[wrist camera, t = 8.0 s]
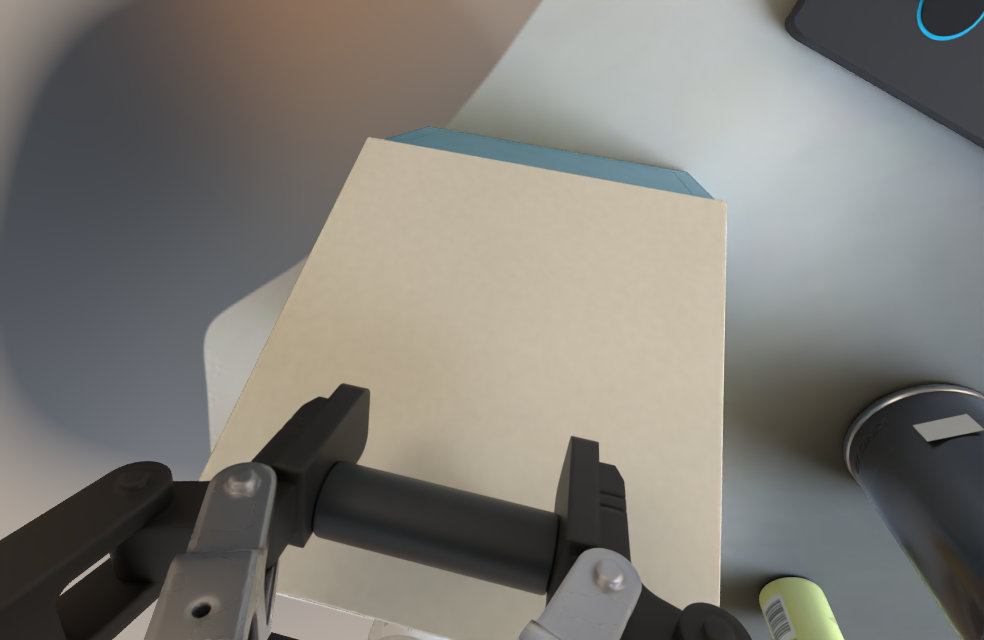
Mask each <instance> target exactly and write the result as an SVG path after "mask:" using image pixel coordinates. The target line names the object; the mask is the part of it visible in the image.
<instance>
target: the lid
mask: <svg viewBox="0 0 984 640" xmlns="http://www.w3.org/2000/svg"><path fill="white" fill-rule="evenodd" d="M726 233H727V202H724V201H719V200H713V199H708V198H702V197H697V196H691V195H686V194H680V193H675V192H669V191H664V190H658V189H653V188H647V187H642V186H636V185H631V184H625V183H620V182H614V181H609V180H603V179H598V178H592V177H587V176H581V175H576V174H570V173H565V172H559V171H554V170H548V169H543V168H537V167H532V166H526V165H521V164H515V163H510V162H504V161H499V160H493V159H488V158H482V157H477V156H471V155H466V154H460V153H455V152H449V151H444V150H438V149H433V148H427V147H421V146H416V145H410V144H405V143H399V142H394V141H388V140H383V139H377V138H372V137H368V138H367V140H366V142H365V144H364V146H363V148H362V150H361V152H360V154H359V156H358V158H357V160H356V162H355V164H354V166H353V168H352V170H351V172H350V174H349V176H348V178H347V180H346V182H345V184H344V186H343V188H342V190H341V192H340V194H339V197H338V198H337V200H336V203H335V205H334V207H333V209H332V211H331V213H330V215H329V217H328V219H327V221H326V223H325V225H324V227H323V229H322V231H321V233H320V235H319V237H318V239H317V241H316V243H315V245H314V247H313V249H312V251H311V253H310V255H309V257H308V259H307V261H306V263H305V265H304V267H303V269H302V271H301V274H300V276H299V278H298V280H297V282H296V284H295V286H294V288H293V290H292V292H291V294H290V296H289V298H288V300H287V302H286V304H285V306H284V308H283V310H282V312H281V314H280V316H279V318H278V320H277V322H276V324H275V326H274V328H273V330H272V332H271V334H270V336H269V338H268V340H267V342H266V344H265V347H264V349H263V351H262V353H261V355H260V357H259V359H258V361H257V363H256V365H255V367H254V369H253V371H252V373H251V375H250V377H249V379H248V381H247V383H246V385H245V387H244V389H243V391H242V393H241V395H240V397H239V399H238V401H237V403H236V405H235V407H234V409H233V411H232V413H231V415H230V418H229V420H228V422H227V424H226V426H225V428H224V430H223V432H222V434H221V436H220V438H219V440H218V442H217V444H216V446H215V448H214V450H213V452H212V454H211V456H210V458H209V460H208V462H207V464H206V467H205V468H204V470H203V472H202V474H201V476H200V478H199V480H198V481H211V480H212V478H213V477H214V476H215V475H216V474H217V473H218V472H220V471H221V470H223V469H225V468H227V467H229V466H231V465H234V464H238V463H243V462H251V461H252V459H253V458H254V457H255V456H256V455H257V454H258V453H259V452H260V451H261V450H262V449H263V447H264V446H265V445H266V444H267V443H268V442H269V441H270V440H271V439H272V438H273V437H274V436H275V434H276V433H277V432H278V431H279V430H280V429H282V428H283V426H284V425H285V424H286V422H287V421H288V420H289V419H291V418H292V416H293V415H294V414H295V413H296V412H297V411H298V409H299V408H300V407H301V406H302V405H303V404H305V403H307V402H309V401H311V400H313V399H315V398H317V397H319V396H320V397H325V398H329V397H330V396H331V395H332V393H333V392H334V391H335V390H336V389H337V388H338V386H339V385H340V384H342V383H345V384H350V385H354V386H359V387H363V388H367V389H369V390H370V409H369V427H368V438H367V442H366V446H365V449H364V451H363V454H362V456H361V457H360V459H359V460H358V462H357V464H354V463H350V462H346V461H340V462H337V463H336V464H335V465H334V466H333V467H332V469H331V470H330V471H329V473H328V475H327V476H326V478H325V480H324V482H323V484H322V487H321V489H320V492H319V495H318V498H317V501H316V504H315V509H314V514H313V524H312V526H313V533H312V535H311V537H310V538H309V540H308V541H307V543H306V545H305V546H304V548H300V547H296V546H292V545H287V547H286V548H285V550H284V551H283V553H282V554H281V556H280V567H279V574H278V581H277V587H276V592H277V593H281V594H284V595H288V596H292V597H295V598H299V599H303V600H306V601H310V602H314V603H317V604H321V605H325V606H328V607H332V608H336V609H339V610H343V611H347V612H350V613H354V614H358V615H361V616H365V617H368V618H372V619H376V620H379V621H383V622H387V623H390V624H394V625H398V626H401V627H405V628H409V629H412V630H416V631H420V632H423V633H427V634H431V635H434V636H438V637H442V638H445V639H449V640H517V638H518V637H519V635H520V634H521V632H522V631H523V629H524V628H525V626H526V625H527V624H528V623H529V622H530V621H531V620H532V619H533V620H535V621H537V620H538V618H539V617H540V616H541V614H542V613H543V611H544V609H545V607H546V596H547V590H548V587H549V584H550V580H551V576H552V571H553V566H554V561H555V556H556V549H557V543H558V535H559V515H558V514H557V513H554V508H555V499H556V493H557V487H558V483H559V478H560V475H561V471H562V467H563V463H564V459H565V455H566V452H567V448H568V444H569V440H570V437H571V436H575V437H580V438H584V439H588V440H593V441H597V442H599V462H602V463H607V464H611V465H615V466H616V468H617V469H618V471H619V473H620V474H621V476H622V478H623V479H624V482H625V495H626V497H625V499H626V507H627V510H626V512H627V519H628V531H629V543H630V555H631V563H632V565H633V566H634V567H635V569H636V570H637V572H638V574H639V576H640V579H641V582H642V583H643V585H644V586H645V587H646V588H647V589H648V590H650V591H651V592H652V593H653V594H655V595H656V596H658V597H659V598H661V599H663V600H665V601H666V602H668V603H670V604H672V605H674V606H675V607H677V608H679V609H681V610H684V608H685V607H687V606H688V605H690V604H692V603H697V602H704V603H709V604H712V605H716V606H718V607H720V564H721V509H722V454H723V398H724V343H725V288H726Z"/></svg>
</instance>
